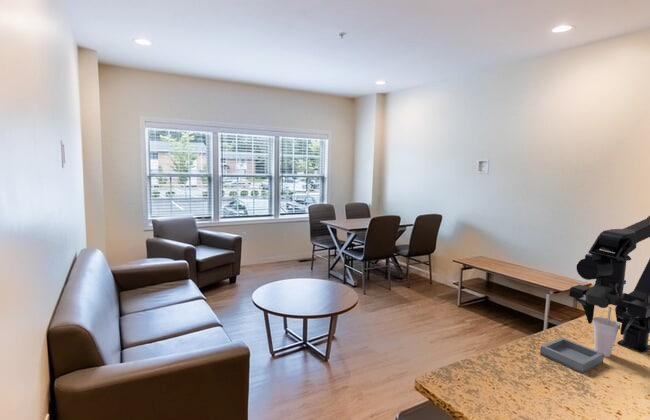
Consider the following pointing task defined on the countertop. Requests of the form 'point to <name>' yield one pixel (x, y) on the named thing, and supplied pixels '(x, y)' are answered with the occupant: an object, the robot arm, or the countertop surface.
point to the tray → (572, 354)
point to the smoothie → (605, 334)
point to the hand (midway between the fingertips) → (605, 328)
